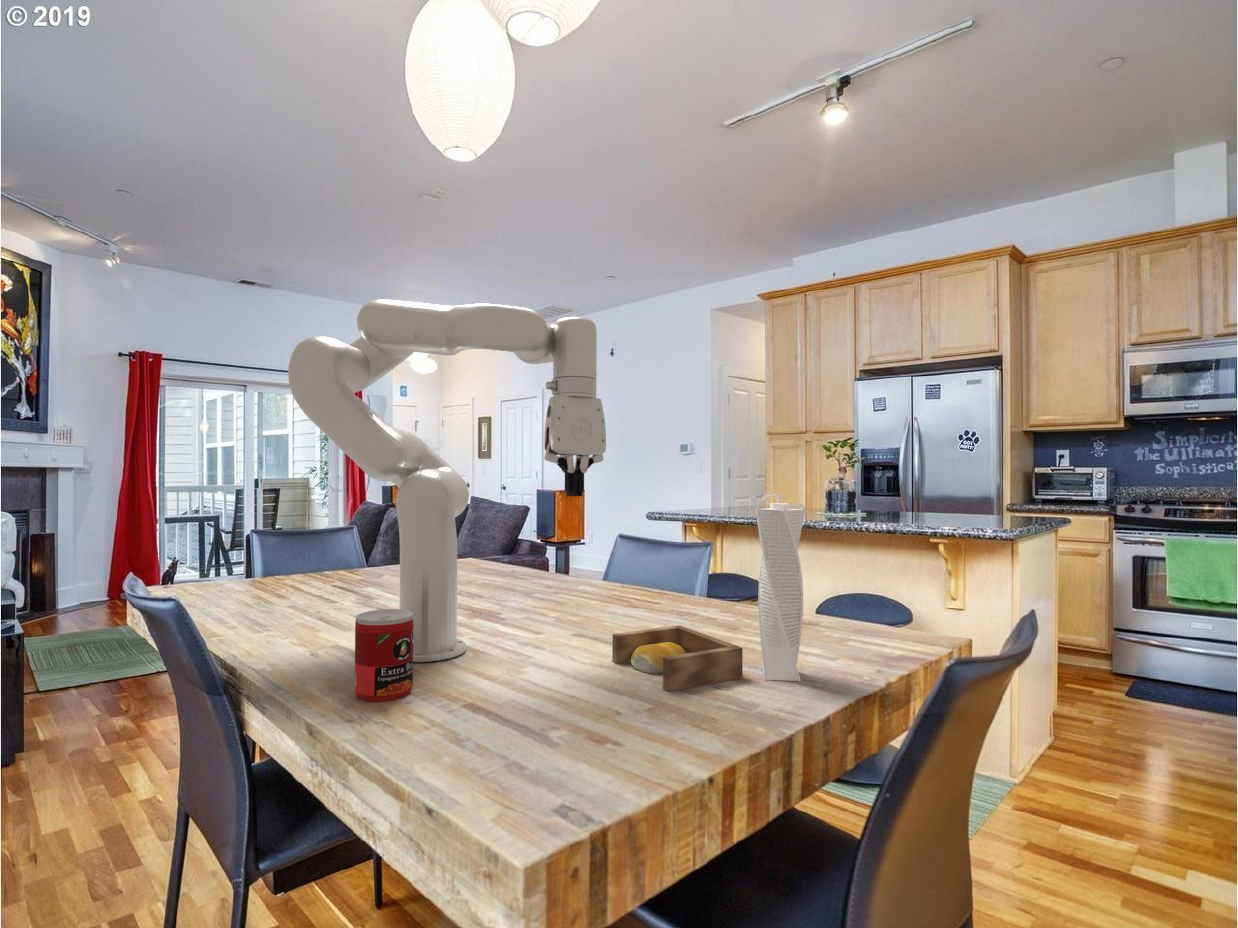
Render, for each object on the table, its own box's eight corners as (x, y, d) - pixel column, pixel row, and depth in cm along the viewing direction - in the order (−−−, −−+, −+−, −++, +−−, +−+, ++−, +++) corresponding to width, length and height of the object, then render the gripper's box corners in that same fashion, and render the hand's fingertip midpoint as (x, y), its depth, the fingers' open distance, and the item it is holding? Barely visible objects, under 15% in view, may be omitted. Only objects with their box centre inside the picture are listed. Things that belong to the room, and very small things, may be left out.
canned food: (379, 706, 85) (380, 622, 86) (342, 695, 90) (342, 615, 90) (425, 690, 92) (425, 612, 92) (388, 680, 96) (388, 606, 96)
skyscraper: (753, 666, 104) (752, 492, 105) (800, 667, 103) (799, 492, 104) (758, 681, 96) (758, 493, 97) (810, 683, 95) (809, 493, 96)
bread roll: (697, 667, 104) (697, 642, 104) (658, 678, 98) (658, 652, 98) (660, 656, 110) (660, 633, 110) (621, 666, 104) (621, 641, 104)
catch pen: (668, 691, 92) (668, 659, 92) (612, 661, 106) (612, 634, 107) (742, 677, 98) (742, 647, 98) (680, 651, 113) (680, 625, 113)
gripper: (542, 384, 105) (542, 497, 105) (622, 390, 113) (622, 496, 112) (526, 390, 112) (525, 496, 112) (603, 395, 119) (602, 495, 119)
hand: (574, 495), depth 112 cm, fingers closed
